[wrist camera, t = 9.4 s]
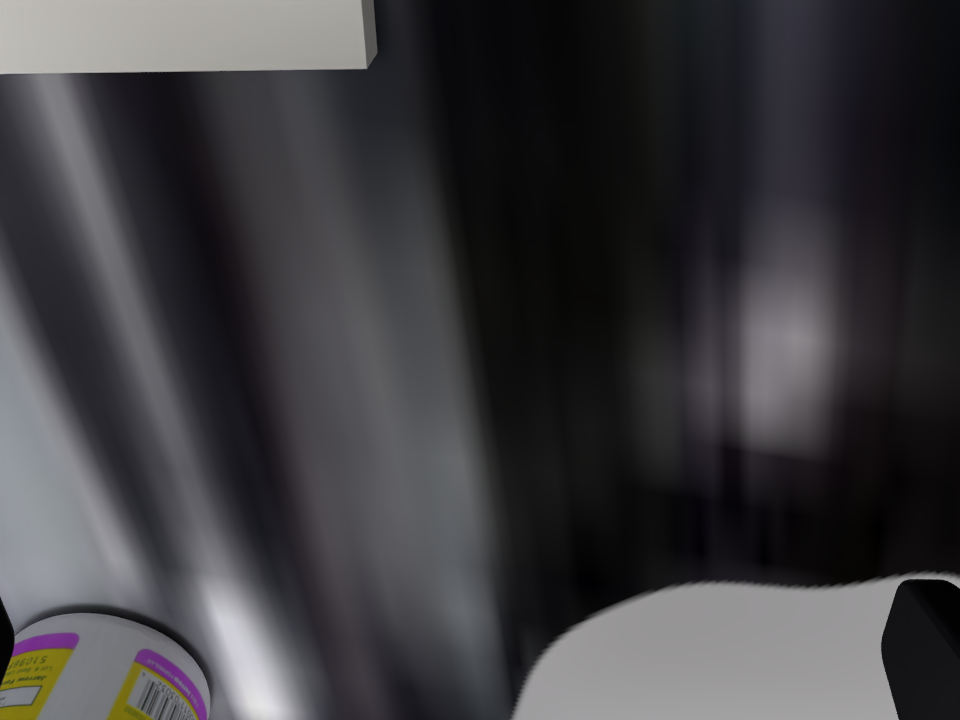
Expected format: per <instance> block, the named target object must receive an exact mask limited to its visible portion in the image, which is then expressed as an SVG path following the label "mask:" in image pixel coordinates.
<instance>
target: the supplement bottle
mask: <svg viewBox="0 0 960 720" xmlns="http://www.w3.org/2000/svg"><path fill="white" fill-rule="evenodd" d="M209 712H210V693H209V689H208V685H207V682H206V679H205V677H204V675H203V672H202V671H201V669H200V668H199V666H198V665H197V663H196V662H195V661H194V659H193V658H192V657H191V656H190V655H189V654H188V653H187V652H186V651H185V650H184V649H183V648H182V647H181V646H180V645H179V644H177V643H176V642H174V641H173V640H172V639H170V638H169V637H167V636H165V635H164V634H162V633H160V632H158V631H156V630H154V629H152V628H150V627H147V626H145V625H142V624H139V623H136V622H134V621H130V620H127V619H124V618H120V617H115V616H110V615H104V614H95V613H71V614H64V615H58V616H54V617H50V618H47V619H44V620H41V621H38V622H36V623H34V624H32V625H30V626H28V627H27V628H25V629H23V630H22V631H21V632H19V633H18V634H17V635H16V636H15V644H14V650H13V654H12V657H11V660H10V663H9V665H8V668H7V671H6V674H5V676H4V679H3V682H2V684H1V687H0V720H208V717H209Z"/></svg>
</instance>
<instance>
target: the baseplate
mask: <svg viewBox="0 0 960 720" xmlns="http://www.w3.org/2000/svg"><path fill="white" fill-rule="evenodd" d="M376 54H377V40H376V27H375V14H374V1H373V0H0V74H31V73H104V72H177V71H249V70H322V69H367V68H368V67H369V65H370V63H371V62H372V60H373V59H374V57H375V56H376Z"/></svg>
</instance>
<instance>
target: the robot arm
mask: <svg viewBox="0 0 960 720" xmlns="http://www.w3.org/2000/svg"><path fill="white" fill-rule="evenodd" d="M14 644H15V636H14V629H13V626H12V624H11V621H10V619H9V617H8V614H7V612H6V610H5V607H4V605H3V602H2V600H1V598H0V687H1V684H2V682H3V679H4V676H5V674H6V671H7V668H8V665H9V663H10V660H11V657H12V654H13V650H14ZM881 652H882V660H883V664H884V668H885V672H886V675H887V679H888V682H889V686H890V689H891V693H892V697H893V700H894V703H895V707H896V711H897V714H898V718H899V720H960V589H959V588H958V587H957V586H955V585H954V584H952V583H950V582H948V581H945V580H930V579H926V580H925V579H909V580H905V581H903V582H902V583H901V584H900V585H899V586H898V589H897V591H896V594H895V597H894V600H893V604H892V607H891V610H890V613H889V616H888V620H887V623H886V626H885V629H884V632H883V636H882V642H881Z"/></svg>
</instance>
